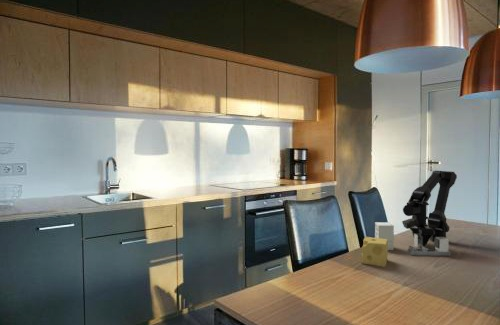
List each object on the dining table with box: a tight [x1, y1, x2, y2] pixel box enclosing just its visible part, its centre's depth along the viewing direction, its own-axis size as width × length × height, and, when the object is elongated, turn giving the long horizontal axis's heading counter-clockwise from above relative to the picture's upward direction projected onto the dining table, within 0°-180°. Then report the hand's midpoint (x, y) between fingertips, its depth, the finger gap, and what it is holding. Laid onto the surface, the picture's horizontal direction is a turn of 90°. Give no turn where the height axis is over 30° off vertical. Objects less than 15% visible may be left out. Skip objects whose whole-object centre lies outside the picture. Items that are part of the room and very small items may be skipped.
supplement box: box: [374, 221, 395, 251], centre depth 168 cm, size 7×7×13 cm
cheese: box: [360, 236, 389, 268], centre depth 147 cm, size 10×11×10 cm
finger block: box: [413, 234, 423, 248], centre depth 172 cm, size 5×4×6 cm
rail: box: [407, 237, 451, 257], centre depth 158 cm, size 18×4×8 cm, turn 87°
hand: (419, 243), depth 172 cm, fingers open, 9 cm apart
